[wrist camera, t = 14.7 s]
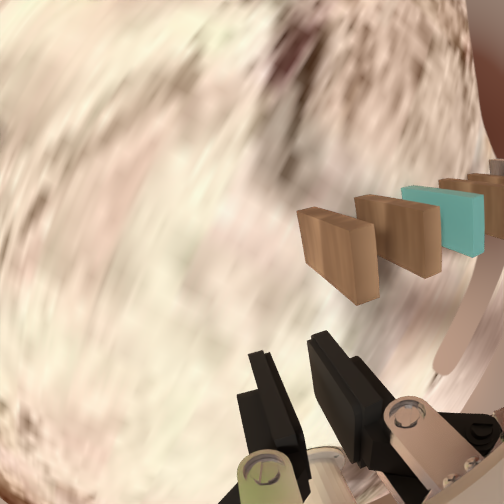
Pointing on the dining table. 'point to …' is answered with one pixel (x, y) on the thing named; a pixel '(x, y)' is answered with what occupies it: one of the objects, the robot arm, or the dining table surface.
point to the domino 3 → (454, 216)
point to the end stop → (496, 167)
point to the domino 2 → (404, 232)
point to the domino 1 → (341, 252)
